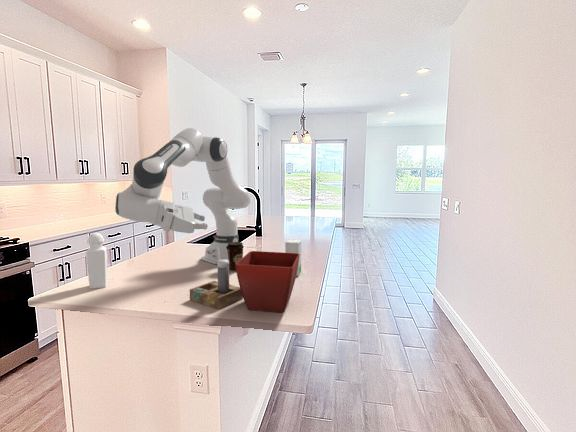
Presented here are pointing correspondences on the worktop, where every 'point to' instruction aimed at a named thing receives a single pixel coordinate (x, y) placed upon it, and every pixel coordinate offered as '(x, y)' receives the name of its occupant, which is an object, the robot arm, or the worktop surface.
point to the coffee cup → (234, 254)
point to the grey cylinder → (223, 276)
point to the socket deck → (215, 295)
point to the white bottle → (96, 261)
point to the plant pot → (267, 279)
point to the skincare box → (294, 251)
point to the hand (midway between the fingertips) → (205, 222)
